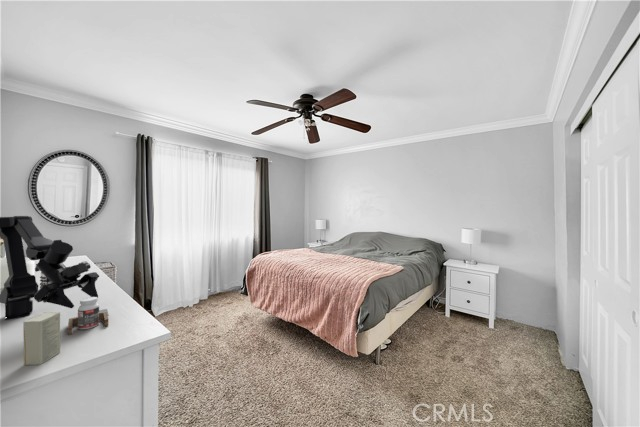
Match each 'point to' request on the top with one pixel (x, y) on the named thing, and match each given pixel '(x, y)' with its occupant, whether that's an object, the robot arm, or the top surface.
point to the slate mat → (104, 311)
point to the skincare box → (41, 338)
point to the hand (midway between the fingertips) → (85, 302)
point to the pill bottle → (88, 313)
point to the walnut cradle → (75, 321)
